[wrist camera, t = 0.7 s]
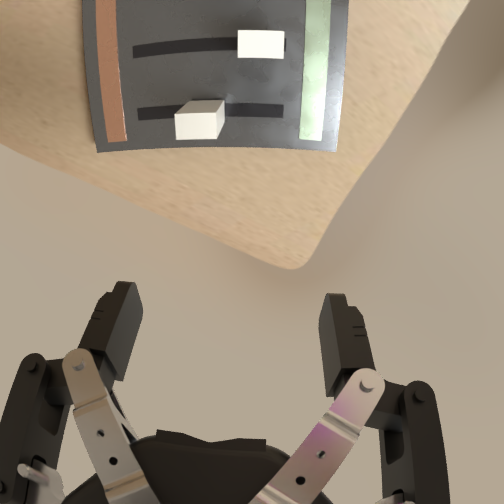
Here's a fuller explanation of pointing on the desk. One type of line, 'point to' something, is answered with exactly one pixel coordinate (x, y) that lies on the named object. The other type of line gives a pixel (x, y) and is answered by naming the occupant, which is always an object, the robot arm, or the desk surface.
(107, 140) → the switch panel
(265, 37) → the switch middle
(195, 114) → the switch
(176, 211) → the desk surface
